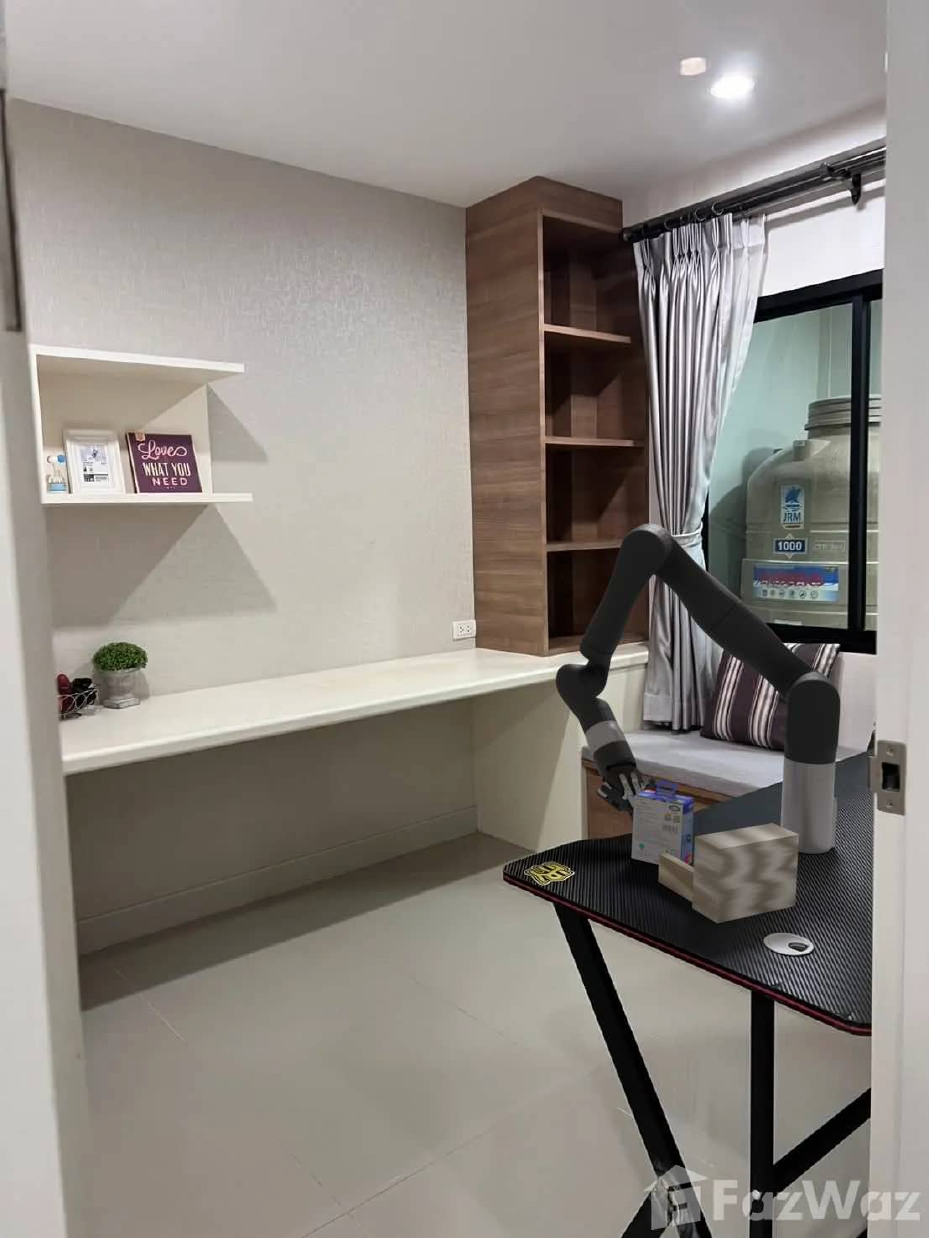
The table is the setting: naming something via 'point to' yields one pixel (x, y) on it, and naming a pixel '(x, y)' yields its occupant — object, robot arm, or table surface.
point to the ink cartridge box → (662, 825)
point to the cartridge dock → (737, 872)
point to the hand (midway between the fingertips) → (644, 827)
